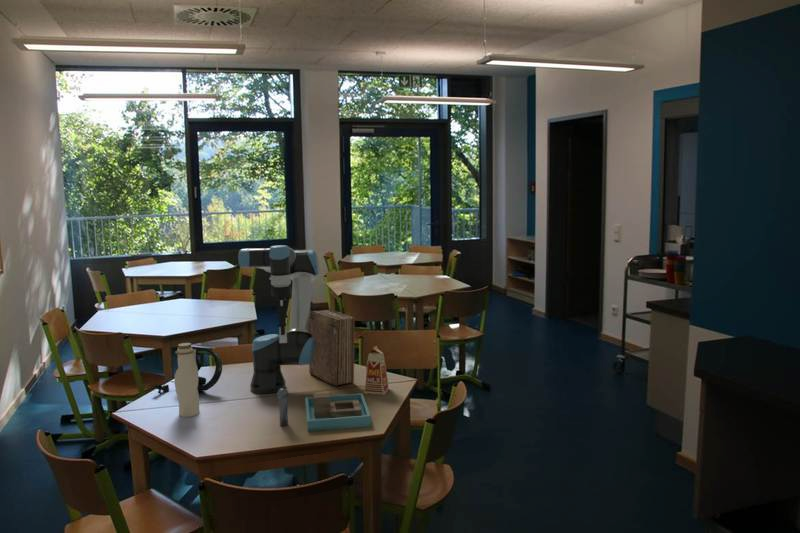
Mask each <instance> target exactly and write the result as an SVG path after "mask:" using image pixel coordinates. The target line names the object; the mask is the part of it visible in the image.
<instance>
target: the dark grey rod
mask: <svg viewBox="0 0 800 533" xmlns="http://www.w3.org/2000/svg"><path fill="white" fill-rule="evenodd" d="M276 394H277V397H278V408H279V410H278V412H279V426H280V427H286V426H288V425H289V416H288V415H289V412H288V396H289V392H288V390H287V389H286V387H285V388H281V389H279V390H278V392H276Z"/></svg>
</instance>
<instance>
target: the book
mask: <svg viewBox="0 0 800 533" xmlns="http://www.w3.org/2000/svg"><path fill="white" fill-rule="evenodd" d="M309 332H310V333H311V334H312V338H314V339H315V342H316V344H315V354H314V358H313V360H312V362H311V363H310V364H308V365H309V366H308V367H309V368H308V369H309V370H308V371H309V374H310V375H312V376H314V377H316V378H318V379H320V380H322V381H323V382H325V383H327V384H330V385H331V386H333V387H335V388H336V387H337V386H339V385H345V384H354V383H355V382H354V381H355V317H354V316H352V315H349V314H345V313H341V312H339V311H336V310H332V309H329V308H321V309H312V310H311V309H310V320H309Z"/></svg>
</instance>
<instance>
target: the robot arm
mask: <svg viewBox="0 0 800 533" xmlns="http://www.w3.org/2000/svg"><path fill="white" fill-rule="evenodd" d="M237 258H238V259H237V260H238V266H239V267H241V268H247V269H249V268H255V269H261V270H263V271H265V272H267V273H270V276H269V280H270V285H271V287H270V288H271V289H270V290H271V296H272V297H277V298H278V299H276V306H277V312H278V324H277V325H276V327H278V334H275V333H272V334H266V335H262V336H258V337H256V338H254V339H253V341H252V349H251V351H252V364H253V375H252V377H251V381H250V384H249V386H250V392H253V393H255V394H273V393H277V392H278V390H279V389H281V388H285V389H286V379H285V377H284V375H283V372H282V370H281V368H282V367H281V366H305V365H306V366H307V365H309V364H310V363H311V362H312V360H313V358H314V354H315V344H316V342H315V339H314V338H312V334H311V333H310V332H309V320H310V310H311V301H312V300H311V299H312V283H313V282H314V281H315V280H316V276H318V275H320V264H319V257H318V254H317V251H316V250H314V249H293V248H291V247H289V245H287V244H286V245H284V244H280V245H279V244H277V245H271V246H270V247H268V248H249V247H248V248H241V249H239V251H238V255H237ZM291 284H292V285H291ZM288 296H291V300H290V301H291V302H290V314H289V315H290V316H289V317H288V314H287V313H286V312H287V305H288V301H287V300H288V299H287V298H286V297H288ZM287 318H289V327H288V326H287ZM287 327H288V328H289V329H287Z"/></svg>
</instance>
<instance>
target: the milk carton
mask: <svg viewBox="0 0 800 533" xmlns="http://www.w3.org/2000/svg"><path fill="white" fill-rule="evenodd" d="M372 348H373V349H372V350H371V351H370V352H369V353H368V358H367V362H366V369H365V370H366V374H365V375H366V376H365V385H364V389H363V394H368V393H369V394H370V393H371V394H372V395H383V394H385V395H386V393H387V392H388V390H389V379H388V373H387V367H386V366H387V365H386V361H385V356H384V352H382V351H381V350H380V349H378V346H377V345H376V346H373V347H372Z"/></svg>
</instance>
